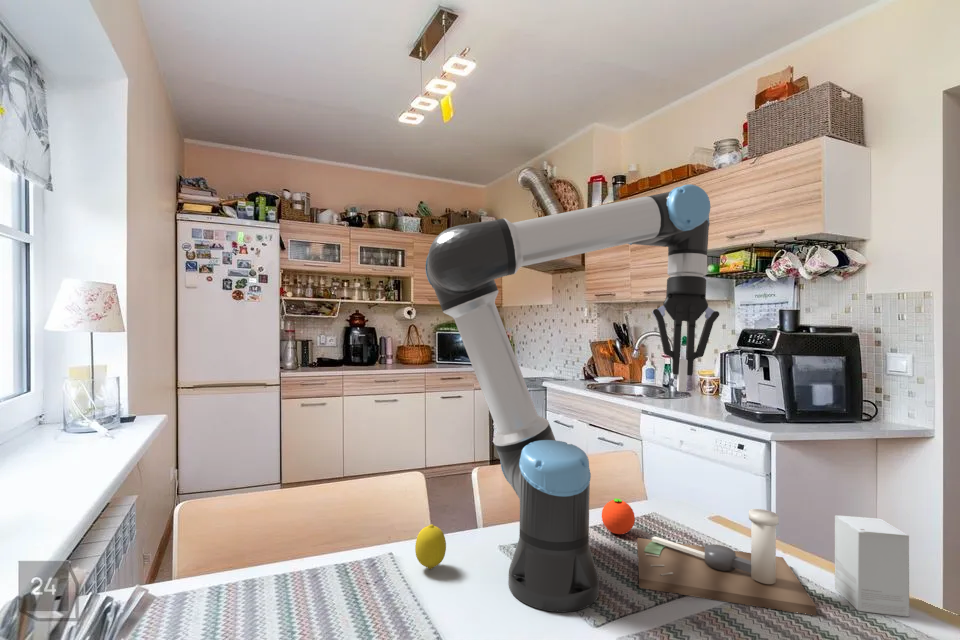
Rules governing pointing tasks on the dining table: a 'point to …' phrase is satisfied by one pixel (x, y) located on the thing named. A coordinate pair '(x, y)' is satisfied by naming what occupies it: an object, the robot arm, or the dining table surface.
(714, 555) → the knobbed stick and post
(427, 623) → the dining table surface
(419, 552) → the lemon
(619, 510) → the clementine
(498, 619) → the dining table surface
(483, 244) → the robot arm
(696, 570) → the brown wooden board
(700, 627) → the dining table surface
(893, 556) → the supplement box
